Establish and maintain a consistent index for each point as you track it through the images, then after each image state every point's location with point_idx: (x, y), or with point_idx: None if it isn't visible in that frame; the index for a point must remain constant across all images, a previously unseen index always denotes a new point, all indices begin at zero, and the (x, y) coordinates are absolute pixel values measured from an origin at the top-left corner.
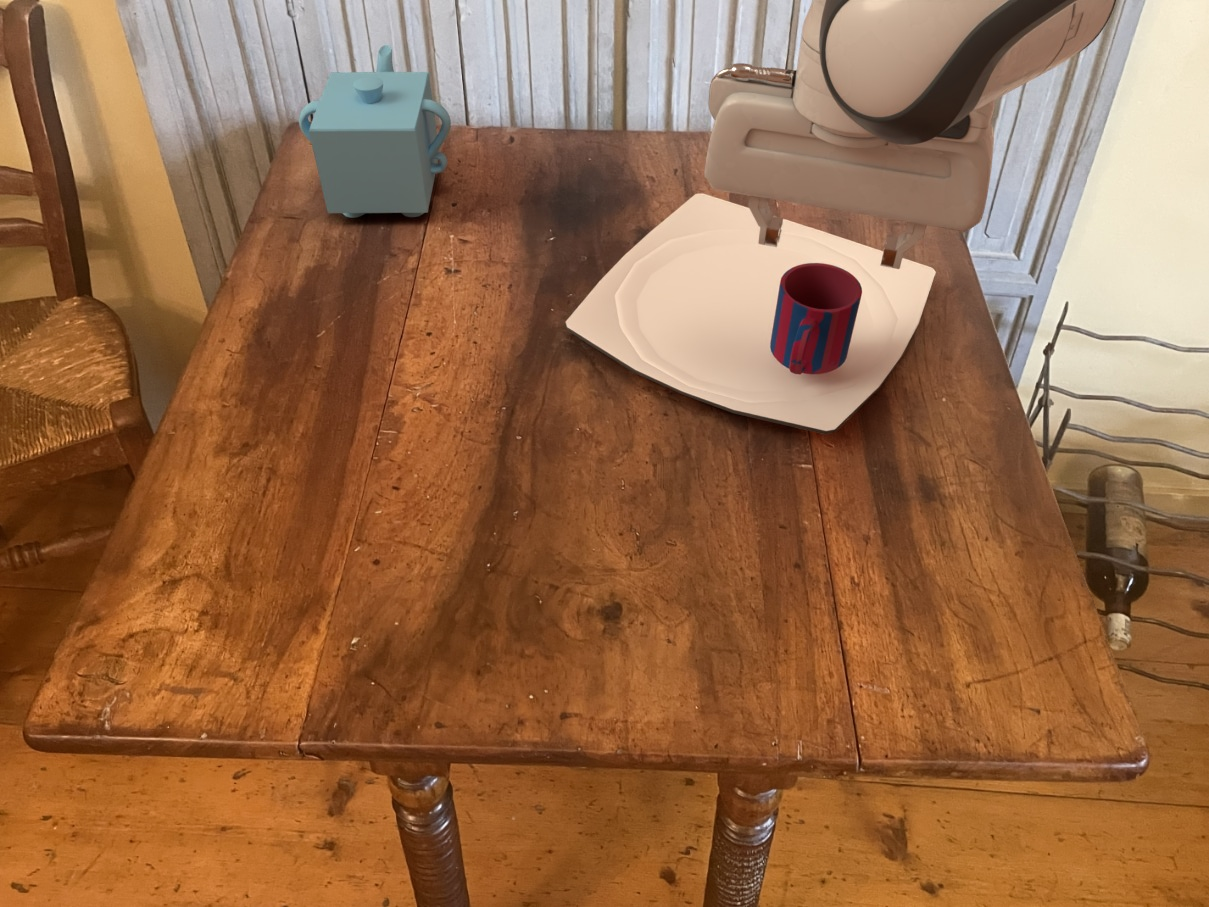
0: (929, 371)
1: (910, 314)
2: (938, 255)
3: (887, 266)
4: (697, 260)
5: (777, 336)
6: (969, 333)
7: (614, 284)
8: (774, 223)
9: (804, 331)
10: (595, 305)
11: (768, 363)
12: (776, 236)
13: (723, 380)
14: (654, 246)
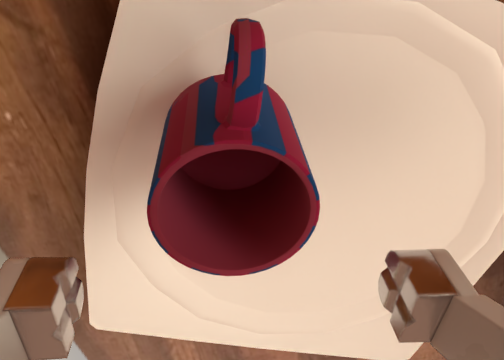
0: (50, 167)
1: (101, 251)
2: (108, 349)
3: (48, 258)
4: None
5: (290, 119)
6: (25, 248)
7: None
8: (428, 317)
9: (248, 74)
10: None
11: None
12: (412, 276)
13: (352, 49)
14: None
